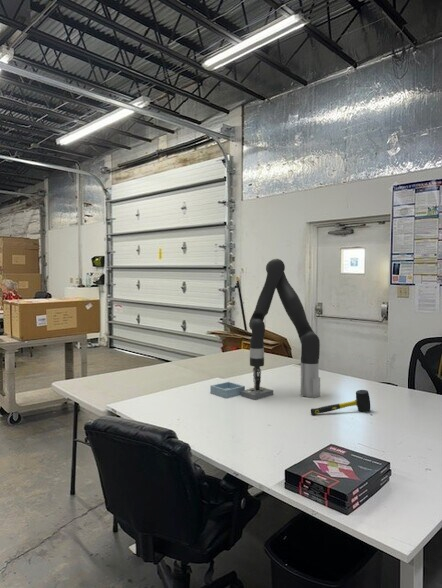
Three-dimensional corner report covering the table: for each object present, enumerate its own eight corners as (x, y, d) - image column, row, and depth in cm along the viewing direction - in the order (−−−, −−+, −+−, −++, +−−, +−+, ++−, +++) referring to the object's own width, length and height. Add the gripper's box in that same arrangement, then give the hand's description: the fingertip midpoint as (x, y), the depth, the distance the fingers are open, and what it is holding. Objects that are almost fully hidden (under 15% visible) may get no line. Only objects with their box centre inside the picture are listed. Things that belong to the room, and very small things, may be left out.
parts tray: (244, 393, 219) (244, 386, 219) (226, 398, 210) (226, 390, 210) (228, 388, 229) (228, 381, 228) (210, 393, 220) (210, 385, 220)
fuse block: (273, 394, 216) (273, 389, 216) (254, 400, 207) (254, 394, 207) (259, 391, 224) (259, 385, 224) (240, 395, 215) (240, 390, 215)
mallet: (314, 417, 181) (314, 396, 181) (308, 413, 187) (308, 392, 187) (373, 412, 188) (373, 391, 187) (365, 408, 193) (365, 388, 193)
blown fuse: (262, 395, 215) (262, 378, 215) (257, 396, 213) (257, 379, 212) (256, 393, 218) (256, 376, 218) (251, 394, 216) (251, 378, 215)
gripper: (265, 359, 208) (265, 392, 208) (262, 354, 222) (262, 385, 222) (250, 359, 208) (251, 392, 208) (248, 354, 222) (248, 385, 222)
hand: (257, 388), depth 215 cm, fingers closed on blown fuse, 3 cm apart
